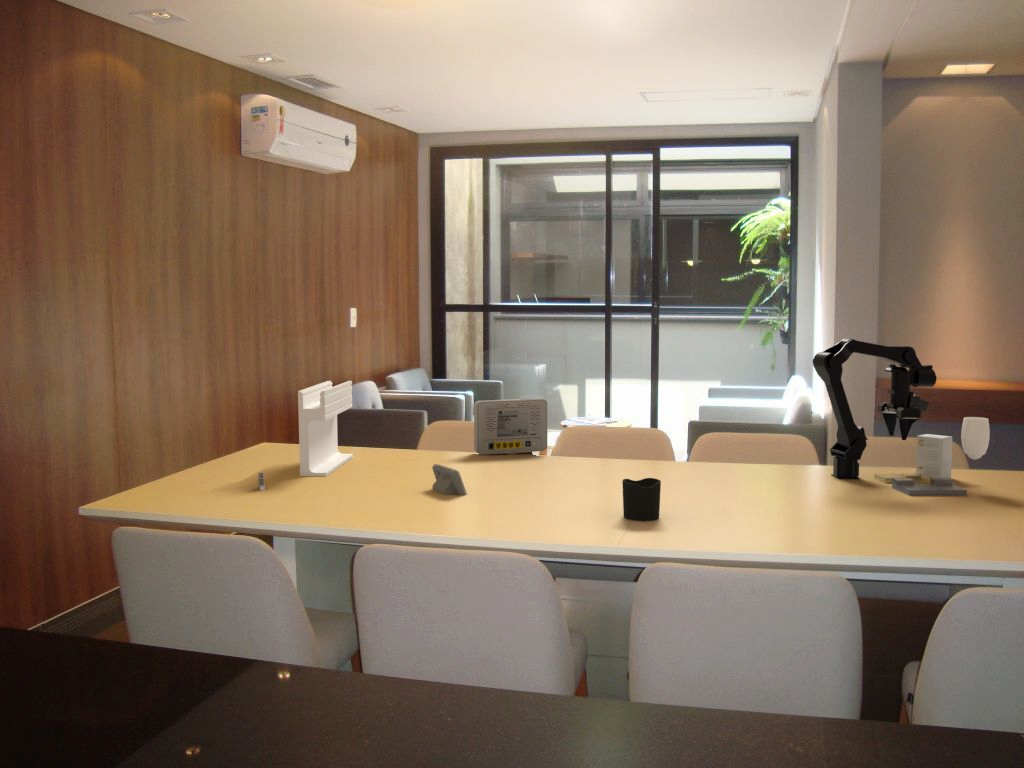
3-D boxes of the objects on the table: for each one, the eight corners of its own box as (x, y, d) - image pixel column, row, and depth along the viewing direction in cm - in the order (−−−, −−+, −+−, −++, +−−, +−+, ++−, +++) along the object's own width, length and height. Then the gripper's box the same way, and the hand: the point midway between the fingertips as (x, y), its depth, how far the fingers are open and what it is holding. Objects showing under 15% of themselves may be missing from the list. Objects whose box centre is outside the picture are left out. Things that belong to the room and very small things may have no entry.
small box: (951, 479, 287) (953, 436, 286) (941, 481, 283) (942, 438, 282) (925, 475, 293) (927, 433, 292) (915, 477, 289) (916, 435, 288)
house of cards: (235, 498, 266) (234, 471, 265) (266, 495, 270) (265, 468, 269) (239, 504, 258) (238, 476, 257) (271, 501, 261) (271, 474, 261)
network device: (541, 453, 338) (541, 397, 336) (550, 457, 330) (550, 399, 328) (472, 457, 330) (471, 400, 328) (479, 461, 322) (479, 402, 320)
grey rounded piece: (958, 492, 268) (961, 419, 266) (959, 487, 274) (962, 416, 272) (987, 494, 264) (990, 420, 262) (987, 489, 271) (990, 417, 269)
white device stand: (329, 463, 319) (328, 380, 316) (353, 463, 318) (351, 380, 316) (300, 484, 284) (297, 391, 281) (326, 484, 283) (324, 391, 281)
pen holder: (651, 526, 229) (651, 485, 229) (615, 522, 234) (616, 482, 234) (666, 518, 237) (666, 479, 237) (632, 514, 242) (632, 475, 241)
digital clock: (469, 502, 257) (469, 469, 257) (442, 505, 255) (441, 471, 254) (455, 493, 270) (454, 461, 270) (429, 495, 268) (428, 463, 267)
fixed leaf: (908, 497, 261) (909, 486, 260) (891, 489, 272) (892, 478, 271) (966, 497, 261) (966, 485, 261) (947, 488, 272) (947, 477, 272)
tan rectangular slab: (889, 486, 276) (889, 475, 275) (874, 480, 287) (874, 469, 286) (937, 486, 276) (937, 475, 276) (920, 479, 287) (920, 469, 287)
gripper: (940, 390, 279) (937, 443, 281) (913, 385, 298) (910, 434, 299) (903, 389, 279) (900, 442, 281) (878, 384, 298) (875, 433, 299)
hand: (897, 438), depth 290 cm, fingers open, 9 cm apart
